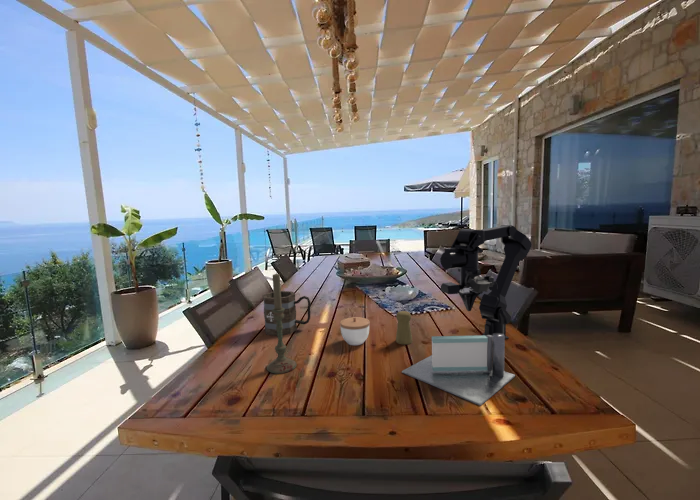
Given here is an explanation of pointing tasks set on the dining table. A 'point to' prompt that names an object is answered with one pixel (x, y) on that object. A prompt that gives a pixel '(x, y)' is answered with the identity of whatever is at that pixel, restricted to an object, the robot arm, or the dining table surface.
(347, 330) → the lidded jar
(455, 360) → the gate
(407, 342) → the olive green shaker
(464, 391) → the gate post
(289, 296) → the mug
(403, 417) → the dining table surface
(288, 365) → the candlestick holder
